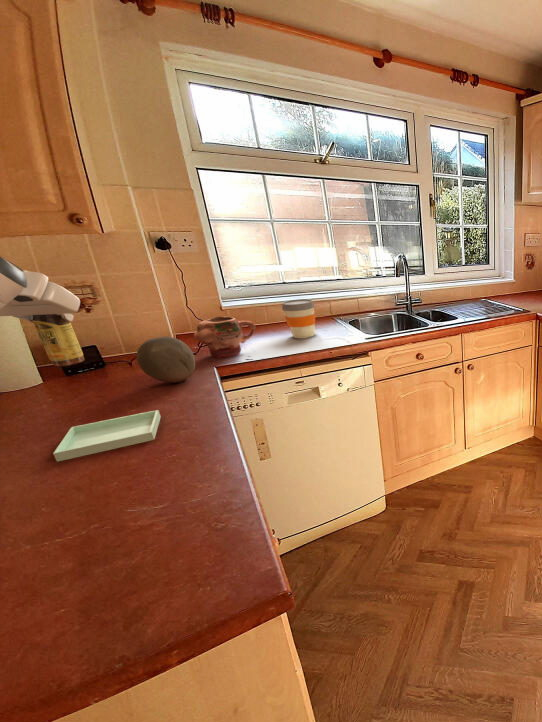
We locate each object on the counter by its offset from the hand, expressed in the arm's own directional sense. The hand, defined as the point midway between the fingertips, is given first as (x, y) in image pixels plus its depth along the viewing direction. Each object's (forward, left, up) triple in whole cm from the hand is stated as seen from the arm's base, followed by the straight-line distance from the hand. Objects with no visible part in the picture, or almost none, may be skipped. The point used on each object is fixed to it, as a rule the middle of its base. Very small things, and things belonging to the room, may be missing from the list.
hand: (53, 319), depth 105 cm
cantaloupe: (+17, +17, -26) cm, 36 cm away
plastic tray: (+7, -20, -26) cm, 34 cm away
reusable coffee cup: (+61, +55, -26) cm, 86 cm away
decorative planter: (+33, +43, -26) cm, 60 cm away
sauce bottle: (0, -1, -12) cm, 12 cm away
